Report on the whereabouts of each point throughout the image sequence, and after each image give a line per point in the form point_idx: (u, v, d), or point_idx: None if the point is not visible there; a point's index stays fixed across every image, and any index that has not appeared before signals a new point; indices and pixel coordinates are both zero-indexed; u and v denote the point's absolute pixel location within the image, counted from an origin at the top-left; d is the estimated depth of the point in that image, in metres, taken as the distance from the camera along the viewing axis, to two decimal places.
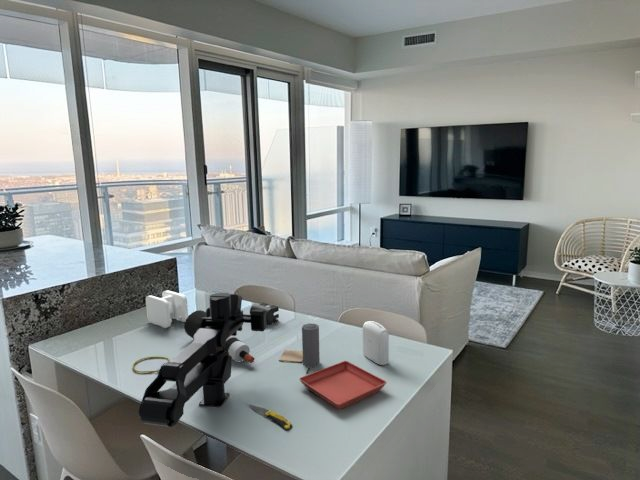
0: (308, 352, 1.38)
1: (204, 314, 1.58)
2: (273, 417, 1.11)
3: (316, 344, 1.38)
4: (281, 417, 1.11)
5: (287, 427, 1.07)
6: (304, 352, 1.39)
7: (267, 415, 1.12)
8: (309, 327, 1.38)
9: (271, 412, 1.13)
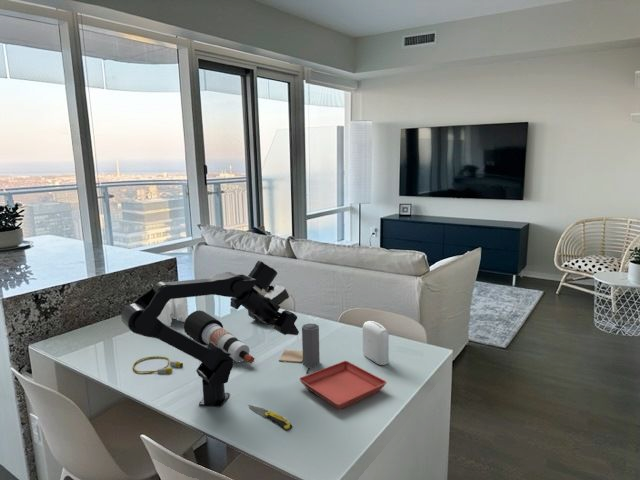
0: (308, 352, 1.38)
1: (204, 314, 1.58)
2: (273, 417, 1.11)
3: (316, 344, 1.38)
4: (281, 417, 1.11)
5: (287, 427, 1.07)
6: (304, 352, 1.39)
7: (267, 415, 1.12)
8: (309, 327, 1.38)
9: (271, 412, 1.13)
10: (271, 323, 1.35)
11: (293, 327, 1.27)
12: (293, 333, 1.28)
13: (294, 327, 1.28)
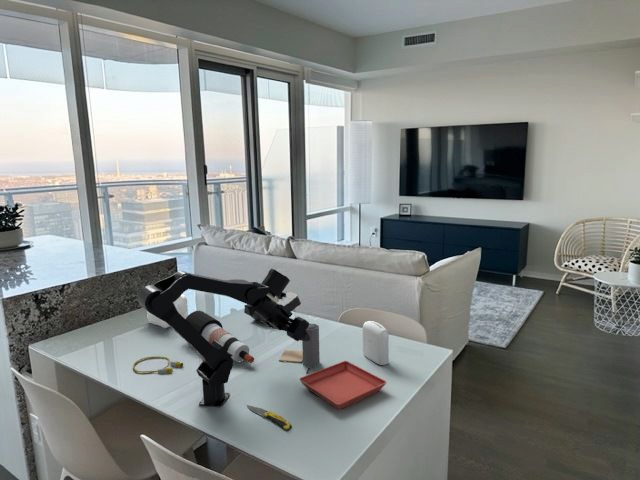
0: (308, 352, 1.38)
1: (203, 314, 1.58)
2: (272, 418, 1.11)
3: (316, 344, 1.38)
4: (280, 417, 1.11)
5: (287, 427, 1.07)
6: (304, 352, 1.39)
7: (266, 416, 1.12)
8: (309, 327, 1.38)
9: (270, 413, 1.13)
10: (283, 329, 1.38)
11: (305, 333, 1.30)
12: (305, 339, 1.31)
13: (306, 333, 1.30)
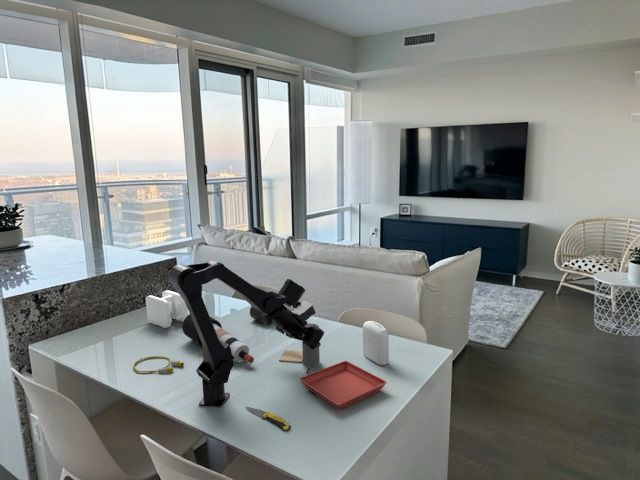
0: (308, 352, 1.38)
1: None
2: (271, 419, 1.10)
3: None
4: (279, 418, 1.10)
5: (286, 428, 1.07)
6: (304, 352, 1.39)
7: (265, 417, 1.12)
8: None
9: (269, 414, 1.12)
10: (301, 339, 1.41)
11: None
12: (315, 345, 1.36)
13: None
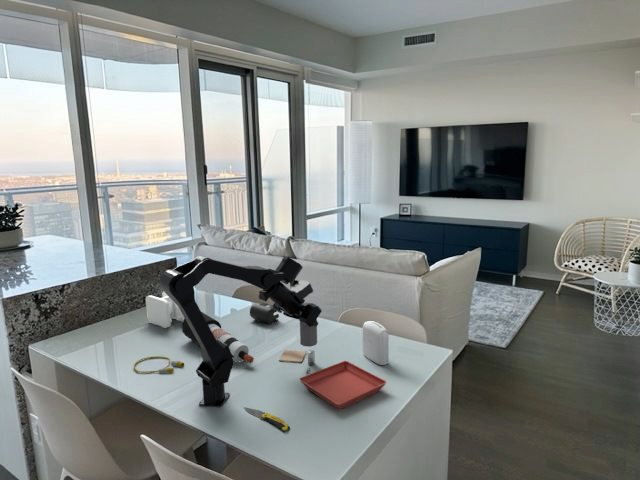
0: (305, 331, 1.37)
1: None
2: (270, 419, 1.10)
3: None
4: (278, 419, 1.10)
5: (285, 429, 1.06)
6: (301, 331, 1.38)
7: (264, 417, 1.11)
8: None
9: (267, 414, 1.12)
10: (298, 318, 1.40)
11: None
12: (313, 324, 1.36)
13: None
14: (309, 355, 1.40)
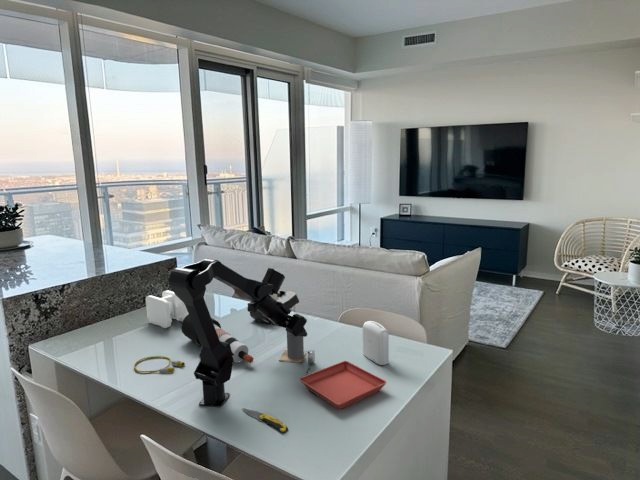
0: (292, 345, 1.43)
1: None
2: (268, 420, 1.10)
3: (300, 337, 1.43)
4: (276, 420, 1.10)
5: (283, 430, 1.06)
6: (289, 345, 1.43)
7: (262, 418, 1.11)
8: None
9: (266, 415, 1.12)
10: (282, 326, 1.46)
11: (302, 329, 1.39)
12: (302, 335, 1.40)
13: (303, 329, 1.39)
14: (309, 355, 1.40)
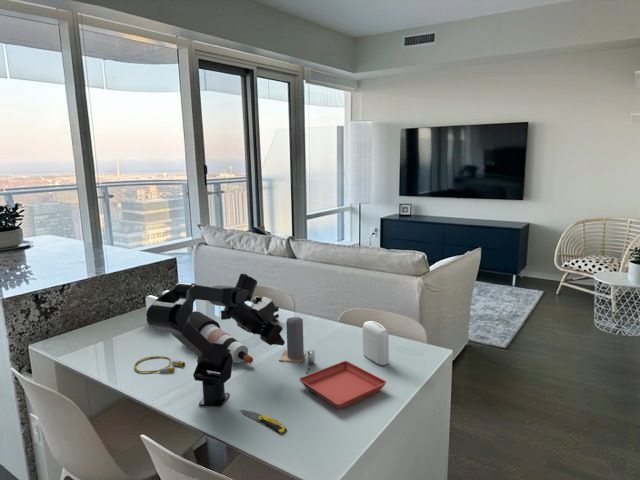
0: (292, 345, 1.43)
1: (200, 315, 1.57)
2: (266, 421, 1.09)
3: (300, 337, 1.43)
4: (275, 421, 1.09)
5: (282, 431, 1.05)
6: (289, 345, 1.43)
7: (260, 419, 1.10)
8: (293, 320, 1.43)
9: (264, 416, 1.11)
10: (259, 333, 1.41)
11: (279, 337, 1.33)
12: (279, 343, 1.34)
13: (280, 337, 1.33)
14: (309, 355, 1.40)
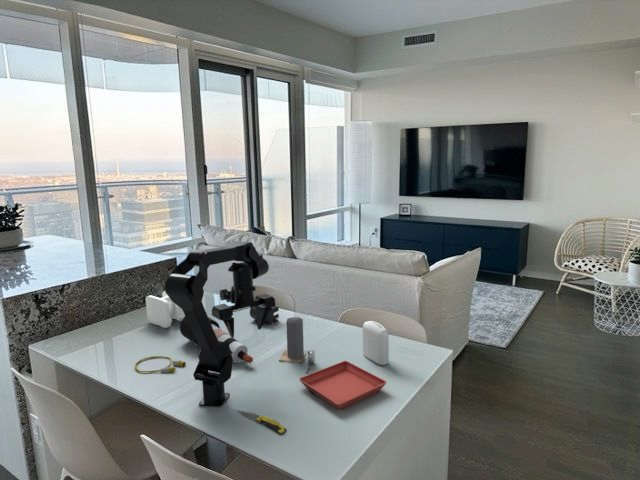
0: (292, 345, 1.43)
1: None
2: (266, 422, 1.09)
3: (300, 337, 1.43)
4: (274, 422, 1.09)
5: (281, 431, 1.05)
6: (289, 345, 1.43)
7: (259, 420, 1.10)
8: (293, 320, 1.43)
9: (263, 417, 1.11)
10: None
11: None
12: None
13: None
14: (309, 355, 1.40)
